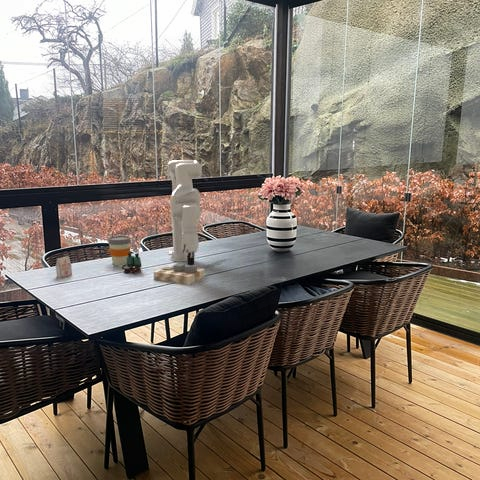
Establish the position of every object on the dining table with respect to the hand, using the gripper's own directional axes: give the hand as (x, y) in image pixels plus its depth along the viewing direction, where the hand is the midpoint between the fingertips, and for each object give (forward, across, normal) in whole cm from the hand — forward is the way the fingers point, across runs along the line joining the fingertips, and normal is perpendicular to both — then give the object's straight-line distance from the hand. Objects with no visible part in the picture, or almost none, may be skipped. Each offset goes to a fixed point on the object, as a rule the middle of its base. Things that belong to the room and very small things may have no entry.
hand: (190, 264), depth 247 cm
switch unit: (+8, 0, -7) cm, 11 cm away
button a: (+7, 0, -14) cm, 16 cm away
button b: (+5, 0, -7) cm, 9 cm away
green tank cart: (+8, +2, -36) cm, 37 cm away
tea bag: (+8, +22, -65) cm, 69 cm away
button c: (+5, 0, 0) cm, 5 cm away
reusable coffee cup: (+8, -12, -55) cm, 57 cm away
